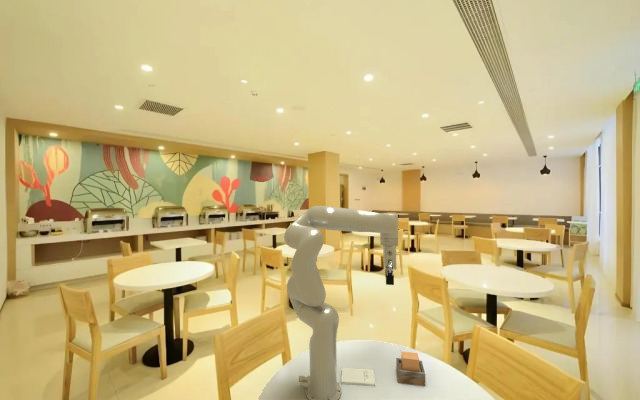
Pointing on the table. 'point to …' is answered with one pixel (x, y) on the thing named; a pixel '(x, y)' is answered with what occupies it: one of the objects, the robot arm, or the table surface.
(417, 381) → the brown wooden box
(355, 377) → the external hard drive
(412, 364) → the tan block
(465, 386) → the table surface
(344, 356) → the table surface
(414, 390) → the table surface
